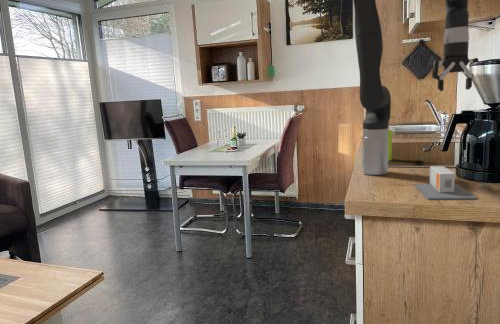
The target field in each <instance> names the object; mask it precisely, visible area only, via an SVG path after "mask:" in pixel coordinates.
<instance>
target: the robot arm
mask: <svg viewBox="0 0 500 324" xmlns="http://www.w3.org/2000/svg"><path fill="white" fill-rule="evenodd" d="M468 2H469V0H445V13H446V14H445V20H444V21H445V24H444V35H443V56H442V57H443V58H442V60H439V61H438V60H435V61H433V63H432V72H431V75H432V76H431V78H432V79H435V80H437V90H439V92H444V84H445V83H444V78H445V77H446V76H447V75H448V74H449V73H451V74H452V73H462V74H463V75H464V76H465V90H470V89H471V88H472V86H473V78H474V77H473V74H472V72H471V71H470V70H469V68H468V67H467V66H468V65H469V64H470V66H472V64H471V63H475V62H478V63H479V58H478V57H475V58H470V59H469V43H470V42H469V40H470V33H469V32H470V31H469V30H470V29H469V23H470V22H469V18H470V15H469V14H470V13H469V11H468V5H469V3H468ZM353 5H354V32H355V33H354V35H355V45H356V47H355V48H356V53H357V62H358V70H359V71H358V72H359V101H360V104H361V106H362V107H363V108H364V110H365V118H364V120H363V121H362V147H361V150H362V152H361V163H362V165H361V166H362V167H361V170H362V173H363V175H370V176H382V175H387V174H389V161H388V125H389V123H390V120H391V117H390V115H391V104H392V99H391V93H390V90H389V88H387V87H386V86H385V85H382V79H381V64H382V63H381V62H382V56H383V51H384V50H383V49H384V43H383V42H384V41H383V33H382V27H381V26H382V25H381V22H380V21H381V20H380V15H379V13H378V8H377V2H376V0H353ZM441 65H442V67H443V70H442V71H441V73H440V74H439V68H440V67H441Z"/></svg>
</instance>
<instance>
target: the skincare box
mask: <svg viewBox="0 0 500 324" xmlns="http://www.w3.org/2000/svg"><path fill="white" fill-rule="evenodd" d="M455 175H456V174H455V173H454V172H453V171H451V170H450V169H448V168H447V167H446V166H445V165H430V166H429V184H431V185H432V186H433V187H434V188H435V189H436V190H438V191H439V192H440V193H449V192H454V184H455Z"/></svg>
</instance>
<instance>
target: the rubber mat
mask: <svg viewBox="0 0 500 324" xmlns="http://www.w3.org/2000/svg"><path fill="white" fill-rule="evenodd" d="M414 187H415V188H416V189H417V190H418V191H419V192H420V193H421V194H422V195H423V197H425V199H427V200H432V201H435V200H438V201H439V200H442V201H443V200H444V201H445V200H451V201H452V200H454V201H455V200H477V199H478V198H477V196H475V195H473V194H472V193H471V192H470V191H468V190H466V189H465V188H463V187H462V186H461V185H460V184H458V183H454V192H449V193H440V192H439V191H438V190H436V189H435V188H434V187H433V186H432V185H431V184H430V183H429V184H425V183H424V184H423V183H422V184H414Z"/></svg>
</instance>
